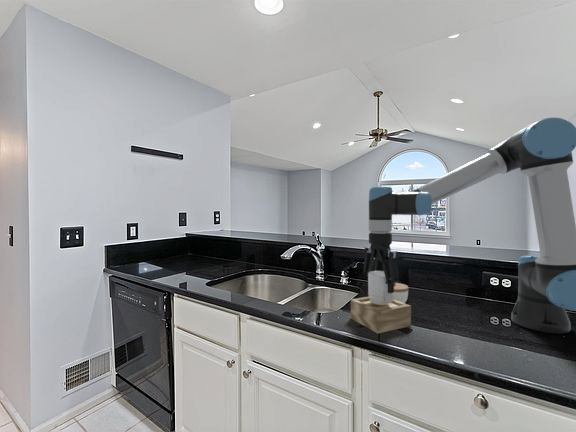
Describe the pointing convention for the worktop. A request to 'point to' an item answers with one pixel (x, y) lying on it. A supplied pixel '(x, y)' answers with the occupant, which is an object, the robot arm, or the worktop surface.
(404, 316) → the wooden box
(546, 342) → the worktop surface
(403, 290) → the lidded jar
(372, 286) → the white cup
